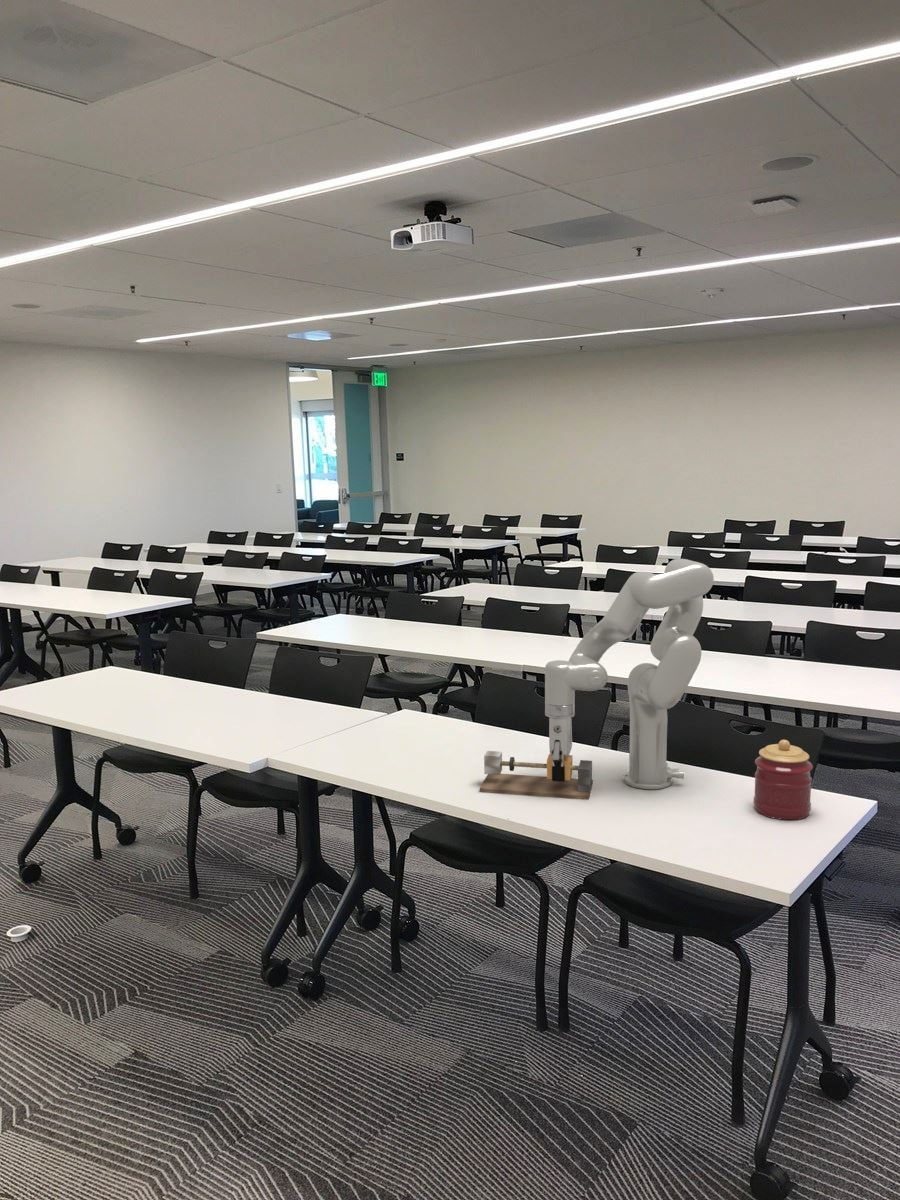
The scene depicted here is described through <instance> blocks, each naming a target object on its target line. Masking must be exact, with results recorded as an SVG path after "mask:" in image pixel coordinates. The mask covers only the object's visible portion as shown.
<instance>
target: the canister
mask: <svg viewBox="0 0 900 1200" xmlns="http://www.w3.org/2000/svg"><path fill="white" fill-rule="evenodd" d="M758 751H759V752H758V754H759V756H758V757H756V758H755V760H754V764H755V765H756V766H757V767H756V771H755V772H754V796H753V805H754V809H755V811H756V810H757V811H756V812H757V813H759V814H761V815H763V816H765V815H766V817H768V816H769V817H768V818H771V817H774V818H773V819H776V818H781V819H780V820H783V819H796V820H800V819H799V818H802V819H804V818H803V817H805V818H807V817H808V816H810V811H811V810H812V806H811V805H812V802H811V797H812V796H811V795H812V794H811V791H812V782H813V779H812V778H813V777H812V776H811V771H812V769H813V763H811V762H810V761H809V759H810V755H809V754H808V753H807V752H806V751H805V750H803V748H801V747H799V746H796V745H792V744H791V743H790V741H789V740H787V739H780V741H779V742H778V743H775V744H768V745H766V746H765V747H763V748H761V749H759V750H758ZM806 816H807V817H806Z"/></svg>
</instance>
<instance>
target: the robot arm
mask: <svg viewBox="0 0 900 1200" xmlns="http://www.w3.org/2000/svg"><path fill="white" fill-rule="evenodd" d="M714 581H715V579H714V573H713V571H712V569H711V568H710V567H709V566H708V565H706V564H704V563H701V562H699V561H694V560H690V559H687V558H674V559H672V560H671V561H669V562H668V563H667V565H666V566H665V569H664V572H663V573H656V574H655V573H652V572H647V571H637V572H634V573H632V574H631V575H630V576H629V577H628V579H627V580H626V581H625V583H624V584H623V586H622V588H621V590H620V591H619V593H618V595H617V596H616V597H615V599H614V601H613V602H612V604H611V606H609V609H608V610H607V611H606V614H605V615H604V616H603V618H602V619H600V621H599V622H597V623H596V624H595V625H594V626H593V627H592V628H591V629H590V630H589V631H588V632H587V633H586V634H585V635H584V636H582V639H580V641H579V643H578V644H577V645H576V647H575V649H574V651H573V652H572V653H571V655H570V657H569V659H568V661H567V660H562V659H561V660H551V661H548V662H547V663H546V665H545V668H544V682H545V683H544V716H545V717H548V718H549V719H548V721H549V724H548V725H549V727H548V729H549V730H548V731H549V732H548V733H549V734H548V736H549V737H548V738H549V739H548V743H549V754H551V755H553V764H552V781H558V782H564V781H565V766H564V755H566V756H568V755H570V753H571V751H572V748H573V735H572V734H573V732H572V731H573V729H572V728H573V726H572V725H573V724H572V718H573V717H575V713H576V712H575V696H576V695H575V692H576V691H587V692H593V691H595V692H596V691H599V690H600V689H602V688H604V687H605V685H606V684H607V682H608V679H609V675H608V671H607V669H606V668H605V667H604V665H602V664H601V663H600V660H601V658H602V657H603V656H604V654H605V653H606V652H607V651H608V650H609V649H610V648H611V647H612V646H615V645H616V644H618V643H620V642H623V641H626V640H627V639H629V638H631V637H633V635H634V633H635V632H636V630H637V629H638V628H639V625H640V624H641V622H642V620H643V618H645V616H646V614H647V613H648V611H649V609H653V610H657V609H665V608H667V611H666V613H665V615H664V617H663V619H662V621H661V623H660V624H659V626H658V628H657V630H656V632H655V634H654V635H653V638H652V640H651V642H650V645H649V646H650V647H649V648H650V649H649V650H650V653H651V655H652V656H653V657H654V658H655V659H656V660H657V661H659V663H658V665H656V664H654V663H650V662H645V663H639V664H637V665H636V666H635V667H633V668H632V670H631V671H630V672H629V674H628V679H627V693H628V700H629V701H628V702H629V720H630V721H629V759H628V760H629V769H628V771H627V772H625V773H624V774H623V782H624V783H625V784H627V785H628V786H631V787H634V788H636V789H643V790H660V789H664V788H667V787H669V786H671V785H672V783H673V778H676V779H683V780H684V779H685V778H684V777H685V771H684V770H680V769H679V768H671V767H670V766H668V763H669V762H667V749H668V748H667V746H668V743H667V739H668V709H671V708H673V707H674V706H675V705H677V704H678V702H679V701H680V700H681V699H682V697H683V695H684V693H685V692H686V690H687V688H688V686H689V684H690V683H691V680H692V679H693V677H694V675H695V673H696V671H697V669H698V667H699V665H700V662H701V659H702V647H701V644H700V642H699V640H698V639H697V638H696V637H695V636H694V634H695V632H696V630H697V627H698V625H699V623H700V621H701V617H702V615H703V611H704V598H703V596H704V595H706V594H707V593H708V592H709V591H710V590H711V589H712V587H713V585H714ZM560 757H561V759H560Z"/></svg>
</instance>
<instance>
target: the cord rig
mask: <svg viewBox="0 0 900 1200" xmlns="http://www.w3.org/2000/svg"><path fill="white" fill-rule="evenodd" d="M483 755H484V756H483V760H484V761H483V762H484V763H483V764H484V767H483V769H484V774H483V775H486V776H485V779H484V780H483V782H482V783H481V785H480V787H479V793H487V794H488V793H489V794H503V795H515V796H516V795H517V796H530V797H531V796H532V797H544V798H545V797H546V798H559V799H560V798H561V799H570V800H571V799H574V800H585V801H586V800H588V801H589V799H590V796H591V792H592V788H593V784H594V780H593V760H588V759H587V760H585V759H580V761H579V764H578V765H573V764H572V765H571V770H572V771H577V778H573V777H571V780H565V781H564V782H558V781H552V779H547V775H546V776H545V775H543V776H542V775H530V774H529V775H527V774H512V773H502V771H503V766H504V767H508V768H509V771H510V772H514V770H515V767H516V768H518V767H519V768H535V769H547V763H538V762H524V761H515V757H514V756H510V758H509V761H507V760H503V751H498V750H497V751H496V750H486V752H485V754H483Z"/></svg>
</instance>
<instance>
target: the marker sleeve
mask: <svg viewBox="0 0 900 1200" xmlns="http://www.w3.org/2000/svg"><path fill="white" fill-rule="evenodd" d="M560 759H561V757H560ZM546 764H547V768H546V777H547V779H552V764H553V755H551V754H550V753H549V754H548V756H547V759H546ZM571 765H573V754H571V755H570V754H569V755H568V756H566V755H564V766H565V780H571V778H573V776H572V775H573V770H571Z"/></svg>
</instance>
